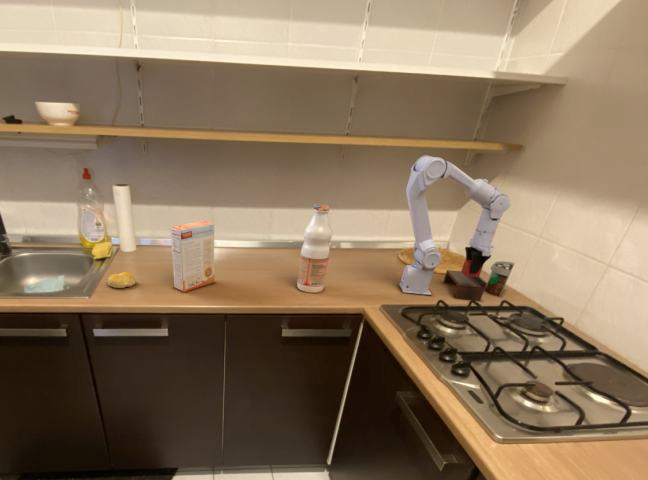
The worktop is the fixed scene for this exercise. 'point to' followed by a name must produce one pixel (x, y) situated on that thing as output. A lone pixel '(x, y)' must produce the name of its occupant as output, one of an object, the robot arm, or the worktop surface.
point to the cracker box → (193, 255)
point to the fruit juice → (315, 251)
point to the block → (467, 269)
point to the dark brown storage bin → (466, 285)
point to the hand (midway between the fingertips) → (470, 270)
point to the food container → (499, 277)
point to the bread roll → (121, 280)
